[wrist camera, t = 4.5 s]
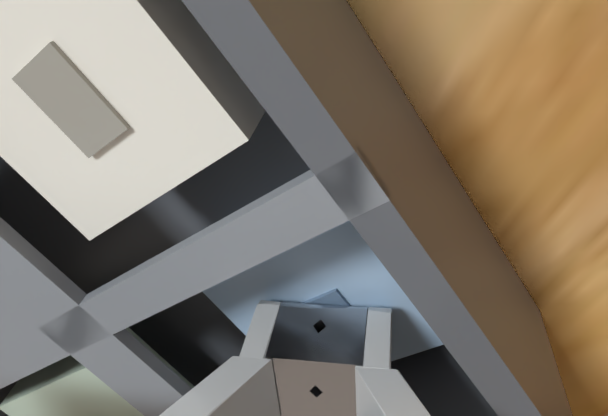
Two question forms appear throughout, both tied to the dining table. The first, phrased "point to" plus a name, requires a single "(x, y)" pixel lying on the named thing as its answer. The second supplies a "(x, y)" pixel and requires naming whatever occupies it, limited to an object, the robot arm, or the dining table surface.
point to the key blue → (327, 286)
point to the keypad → (278, 234)
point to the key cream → (114, 103)
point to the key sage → (70, 392)
